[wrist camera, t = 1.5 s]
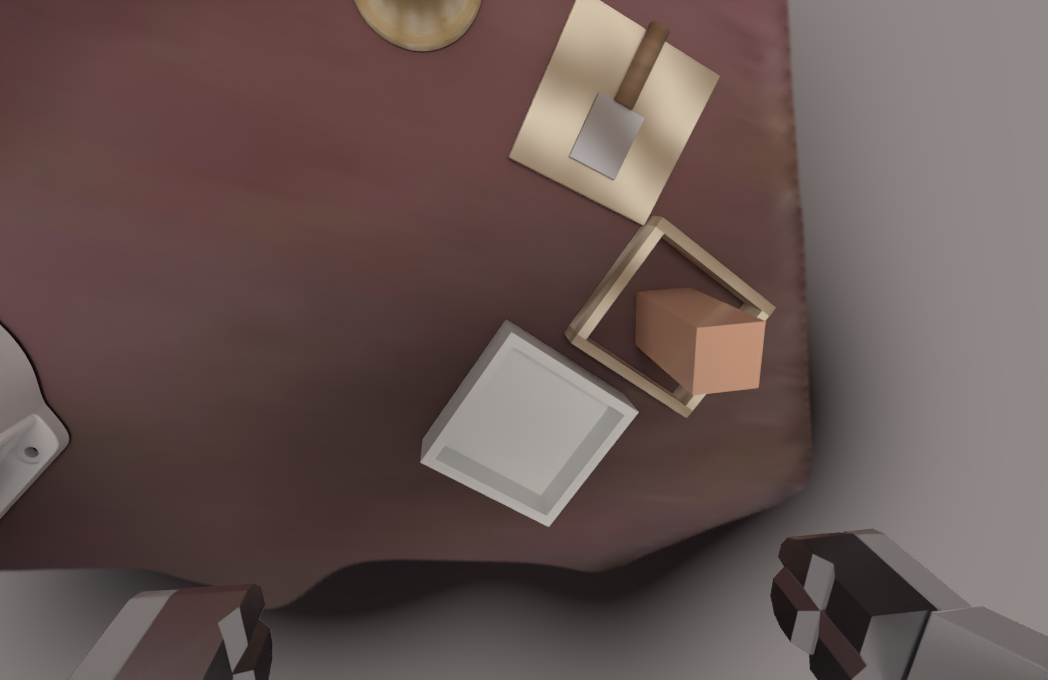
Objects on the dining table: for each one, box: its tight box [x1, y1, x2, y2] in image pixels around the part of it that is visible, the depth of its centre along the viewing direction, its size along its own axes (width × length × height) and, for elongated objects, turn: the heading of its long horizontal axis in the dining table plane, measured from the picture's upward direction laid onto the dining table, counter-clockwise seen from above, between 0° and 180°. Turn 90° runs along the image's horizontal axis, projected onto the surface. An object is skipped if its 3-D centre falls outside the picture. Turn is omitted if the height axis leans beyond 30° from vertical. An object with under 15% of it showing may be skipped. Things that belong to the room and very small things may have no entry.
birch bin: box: [564, 215, 776, 418], centre depth 38 cm, size 11×12×2 cm
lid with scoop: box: [508, 0, 720, 225], centre depth 33 cm, size 11×11×2 cm
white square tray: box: [420, 319, 639, 527], centre depth 39 cm, size 12×12×4 cm
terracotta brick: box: [635, 287, 766, 395], centre depth 35 cm, size 4×4×10 cm
